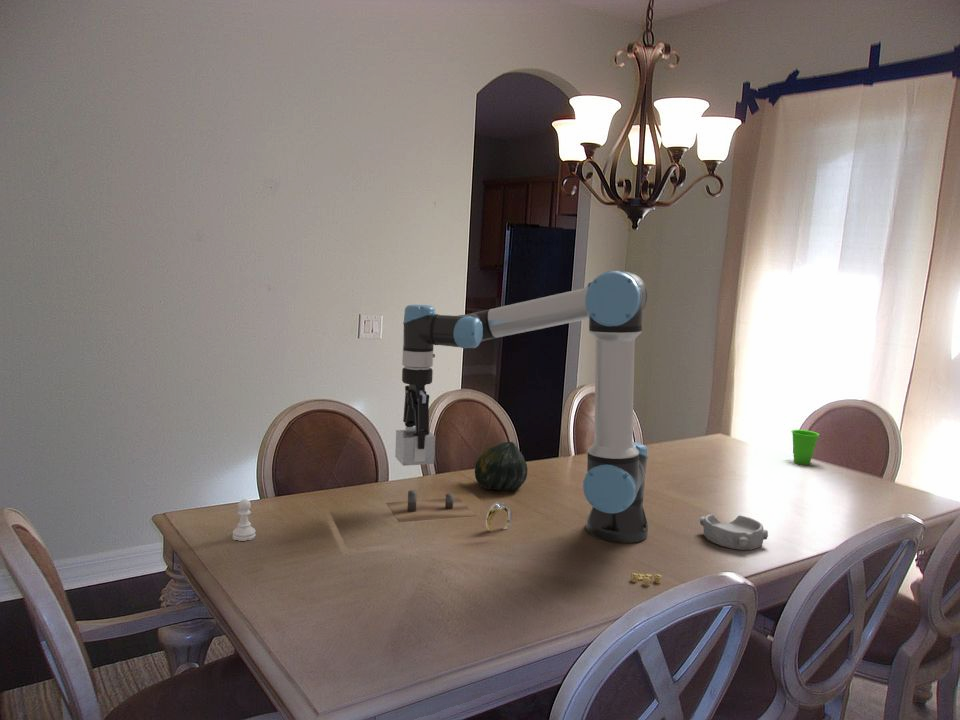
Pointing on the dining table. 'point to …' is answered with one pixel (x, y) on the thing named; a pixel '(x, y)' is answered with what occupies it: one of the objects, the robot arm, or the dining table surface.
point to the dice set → (645, 578)
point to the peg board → (429, 508)
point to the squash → (501, 468)
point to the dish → (734, 532)
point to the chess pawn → (244, 523)
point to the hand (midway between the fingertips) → (414, 456)
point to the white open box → (406, 448)
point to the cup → (803, 445)
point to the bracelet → (491, 514)
